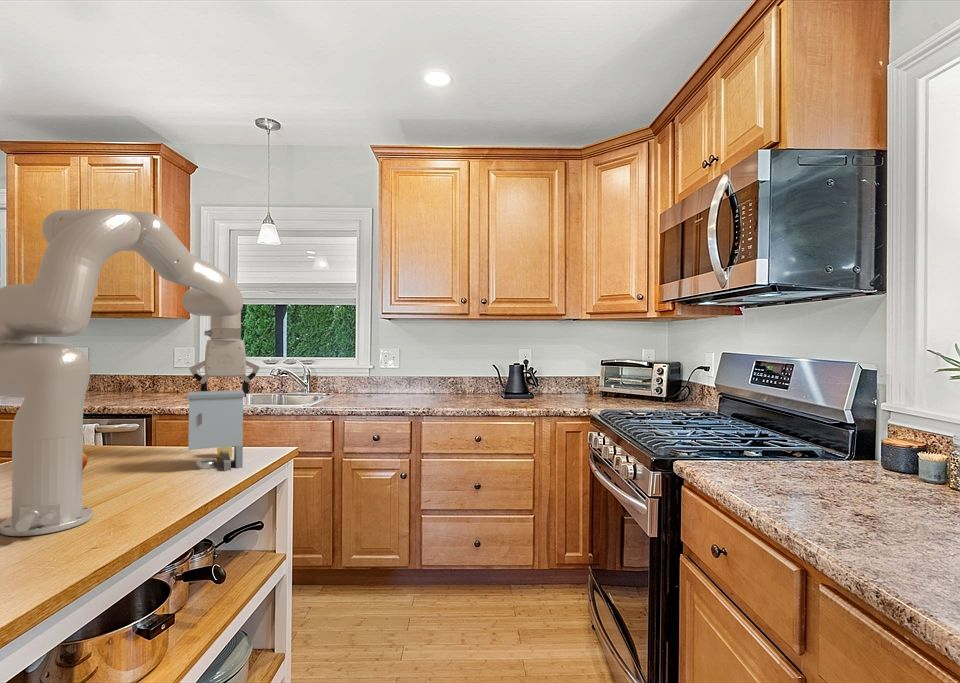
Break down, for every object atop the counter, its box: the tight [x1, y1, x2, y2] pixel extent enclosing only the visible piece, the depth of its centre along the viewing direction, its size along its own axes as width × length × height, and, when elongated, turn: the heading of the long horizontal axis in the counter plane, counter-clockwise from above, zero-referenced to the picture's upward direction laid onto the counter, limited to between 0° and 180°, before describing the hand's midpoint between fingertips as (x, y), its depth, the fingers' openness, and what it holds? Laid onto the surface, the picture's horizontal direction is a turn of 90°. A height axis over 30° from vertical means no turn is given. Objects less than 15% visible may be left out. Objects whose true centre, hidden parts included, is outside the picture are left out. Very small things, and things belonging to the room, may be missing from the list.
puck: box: [196, 457, 218, 470], centre depth 131 cm, size 4×4×2 cm
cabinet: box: [187, 389, 246, 469], centre depth 132 cm, size 9×13×19 cm
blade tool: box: [216, 447, 233, 472], centre depth 136 cm, size 19×4×7 cm, turn 28°
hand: (225, 397), depth 143 cm, fingers open, 9 cm apart
